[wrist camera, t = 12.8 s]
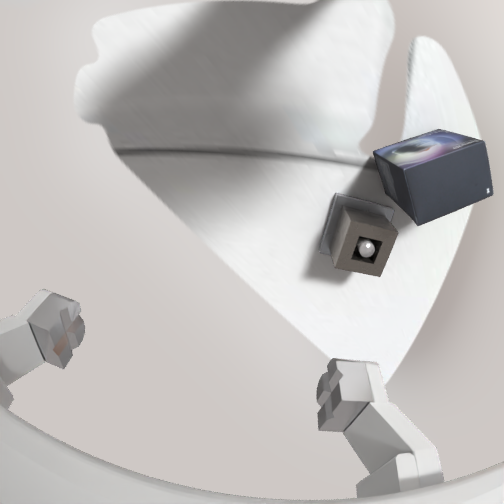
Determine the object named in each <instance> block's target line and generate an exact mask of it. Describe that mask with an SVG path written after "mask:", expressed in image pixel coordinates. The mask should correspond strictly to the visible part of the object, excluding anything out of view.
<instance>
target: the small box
mask: <svg viewBox="0 0 504 504" xmlns="http://www.w3.org/2000/svg"><path fill="white" fill-rule="evenodd" d="M373 155H374V158H375V161H376V164H377V167H378V170H379V173H380V176H381V179H382V183H383V186H384V189H385V193H386V195H388V196H389V197H390V198H391V199H392V200H393V201H394V202H396V203H397V205H399V206H400V207H401V208H402V209H403V210H404V211H405V212H406V213H407V214H408V215H409V216H410V217H411V219H412V220H413V221H414V222H415V223H416V224H417V226H420V225H422V224H425V223H427V222H430V221H432V220H435V219H437V218H440V217H442V216H445V215H447V214H450V213H452V212H454V211H457V210H459V209H462V208H464V207H466V206H469V205H471V204H473V203H476V202H478V201H481V200H483V199H485V198H487V197H490V196H492V195H493V186H492V179H491V172H490V165H489V160H488V154H487V149H486V144H485V141H483V140H479V139H475V138H471V137H468V136H464V135H461V134H457V133H453V132H449V131H445V130H441V129H438V130H434V131H431V132H428V133H425V134H422V135H419V136H416V137H413V138H410V139H407V140H404V141H401V142H398V143H395V144H392V145H389V146H386V147H383V148H381V149H378V150H375V151H373Z"/></svg>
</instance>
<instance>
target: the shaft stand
mask: <svg viewBox="0 0 504 504" xmlns="http://www.w3.org/2000/svg"><path fill="white" fill-rule="evenodd" d="M342 205H344V206H348V207H352V208H356V209H360V210H364V211H368V212H372V213H376V214H379V215H383V216H385V217H386V218H387V219H388V220H389V221H390V222H391V219H392V217H393V214H394V210H393V208H390V207H387V206H383V205H380V204H376V203H373V202H369V201H365V200H362V199H358V198H354V197H350V196H346V195H342V194H338V193H335V197H334V201H333V204H332V207H331V211H330V214H329V218H328V221H327V224H326V228H325V231H324V234H323V237H322V241H321V244H320V247H319V252H320V253H323V254H328V255H331V253H330V250H329V246H330V243H331V239H332V236H333V233H334V230H335V227H336V224H337V220H338V217H339V214H340V211H341V207H342ZM356 246H357V248H358V250H359V252H360V254H361V255H362V256H363V257H370V256H371V255H372V254H373V253H374V251H375V247H374V245H373V244H372V242H371V240H370V239H369V238H366V237H362V236H359V238H358V241H357V244H356Z"/></svg>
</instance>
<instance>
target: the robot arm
mask: <svg viewBox="0 0 504 504" xmlns="http://www.w3.org/2000/svg"><path fill="white" fill-rule="evenodd" d="M80 312H81V308H80V304H79V303H78V302H76V301H74V300H72V299H69V298H66V297H64V296H61V295H59V294H56V293H53V292H50V291H48V290H46V289H42V290H39V292H38V293H37V294H36V295H35V296H34V297H33V298H32V299H31V300H30V301H29V302H28V303H27V304H26V305H25V306H24V307H23V308H22V309H21V311H20V312H19V313H18V314H17V315H16V316H14V315H11V316H9V317H6V318H4V319H1V320H0V504H504V462H501V463H499V464H496V465H494V466H491V467H489V468H486V469H484V470H481V471H478V472H476V473H473V474H470V475H467V476H464V477H460V478H457V479H454V480H450V481H447V482H444V477H443V472H442V468H441V464H440V459H439V456H438V451H437V448H436V447H435V446H434V445H433V444H432V443H431V442H430V441H429V439H427V437H426V436H425V435H424V434H423V433H422V432H421V431H420V430H419V429H418V428H417V427H416V426H415V425H414V424H413V423H412V422H411V421H410V420H409V419H408V418H407V417H406V416H405V415H404V414H403V413H402V411H401V410H400V409H399V408H397V406H396V405H395V404H394V403H389V400H388V396H387V392H386V388H385V385H384V381H383V377H382V374H381V370H380V367H379V364H378V363H377V362H369V361H358V360H347V359H337V358H333V359H331V360H330V362H329V364H328V365H327V368H328V372H326V373H324V374H323V375H322V376H321V378H320V380H319V383H318V387H317V402H318V404H319V405H320V406H321V409H320V410H319V412H318V428H319V431H333V432H344V433H343V434H344V435H345V437H346V439H347V440H348V442H349V443H350V445H351V446H352V448H353V449H354V451H355V452H356V454H357V455H358V457H359V458H360V459H361V461H362V463H363V464H364V465H365V467H366V468H367V470H368V471H369V473H370V475H369V476H367V477H366V478H364V479H363V480H361V481H360V482H359V483H358V484H357V485H356V488H357V498H351V499H336V500H282V499H281V500H280V499H266V498H254V497H246V496H238V495H230V494H224V493H218V492H212V491H206V490H201V489H196V488H191V487H187V486H183V485H179V484H174V483H170V482H167V481H163V480H160V479H156V478H153V477H149V476H146V475H143V474H140V473H137V472H134V471H131V470H128V469H125V468H122V467H120V466H117V465H114V464H112V463H109V462H106V461H104V460H101V459H99V458H96V457H94V456H92V455H90V454H87V453H85V452H83V451H81V450H79V449H76V448H74V447H72V446H70V445H68V444H66V443H64V442H62V441H60V440H58V439H56V438H54V437H52V436H50V435H49V434H47V433H45V432H43V431H42V430H40V429H38V428H36V427H35V426H33V425H31V424H29V423H28V422H26V421H25V420H23V419H21V418H20V417H18V416H17V415H15V414H14V413H12V412H11V411H9V410H8V408H9V406H10V405H11V403H12V401H13V400H14V399H13V395H12V394H11V392H10V391H9V389H8V388H7V386H8V385H9V384H11V383H13V382H14V381H16V380H17V379H19V378H21V377H22V376H24V375H25V374H27V373H29V372H30V371H32V370H34V369H35V368H37V367H38V366H40V365H42V364H43V363H45V361H46V362H48V363H50V364H52V365H55V366H57V367H59V368H62V369H64V368H65V367H66V365H67V363H68V362H69V361H70V359H71V357H72V356H73V354H72V349H74V348H76V347H78V346H79V345H80V343H81V342H82V340H83V337H84V333H85V325H84V321H83V319H82V318H81V317H80V316H79V313H80Z"/></svg>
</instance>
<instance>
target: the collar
mask: <svg viewBox="0 0 504 504" xmlns="http://www.w3.org/2000/svg"><path fill="white" fill-rule="evenodd" d="M397 235H398V231H397V230H396V229H395V228H394V226H393V225H392V224H391V223H390V221H389V220H388V219H387V218H386V217H385V216H383V215H379V214H376V213H372V212H368V211H364V210H360V209H356V208H352V207H348V206H344V205H342V207H341V211H340V214H339V217H338V220H337V224H336V227H335V230H334V233H333V236H332V239H331V243H330V246H329V250H330V253H331V257H332V260H333V264H334V267H335V268H338V269H343V270H348V271H353V272H358V273H363V274H368V275H373V276H378V277H380V276H381V274H382V272H383V269H384V267H385V265H386V262H387V260H388V258H389V255H390V253H391V250H392V248H393V245H394V243H395V240H396V238H397ZM359 236H362V237H366V238H369V239H370V240H371V242H372V244H373V245H374V247H375V251H374V253H373V254H372V255H371V256H370V257H363V256H362V255H361V254H360V252H359V250H358V248H357V246H356V244H357V241H358V238H359Z"/></svg>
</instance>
